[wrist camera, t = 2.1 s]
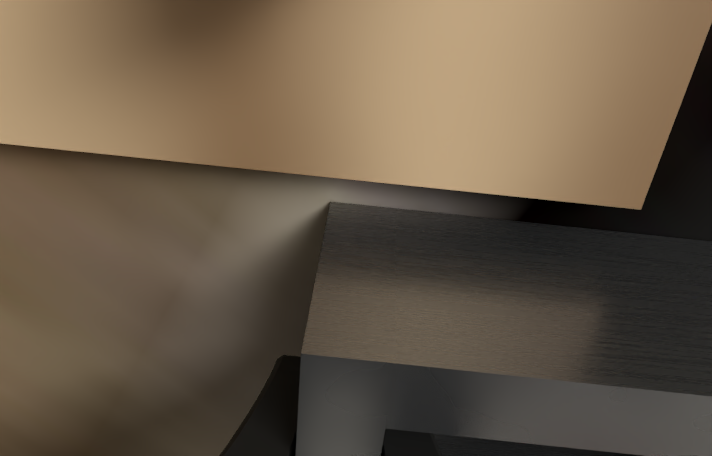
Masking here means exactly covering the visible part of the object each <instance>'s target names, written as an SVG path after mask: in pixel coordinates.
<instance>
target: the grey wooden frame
mask: <svg viewBox="0 0 712 456" xmlns="http://www.w3.org/2000/svg"><path fill="white" fill-rule="evenodd" d="M385 428H386V429H395V430H405V431H414V432H424V433H433V434H434V436H435V439H436V442H437V444H438V446H439V449H440V451H441V453H442V456H712V242H711V241H702V240H692V239H682V238H673V237H663V236H654V235H644V234H634V233H625V232H615V231H605V230H596V229H586V228H576V227H567V226H557V225H548V224H538V223H528V222H519V221H509V220H499V219H490V218H480V217H470V216H461V215H451V214H441V213H432V212H422V211H413V210H403V209H393V208H384V207H374V206H364V205H355V204H345V203H335V202H330V207H329V212H328V217H327V222H326V227H325V233H324V238H323V243H322V248H321V253H320V258H319V264H318V269H317V274H316V279H315V284H314V289H313V294H312V300H311V305H310V310H309V315H308V320H307V325H306V330H305V336H304V341H303V346H302V351H301V363H300V382H299V401H298V420H297V438H296V456H381V452H382V445H383V439H384V433H385Z"/></svg>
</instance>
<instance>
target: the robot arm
mask: <svg viewBox="0 0 712 456" xmlns="http://www.w3.org/2000/svg"><path fill="white" fill-rule="evenodd" d="M300 363H301V357H297V356H287V355H283V356H281V357H280V358H278V359H277V361H276V364H275V366H274V368H273V370H272V372H271V374H270V376H269V378H268V380H267V382H266V384H265V386H264V388H263V390H262V391H261V393H260V395H259V397H258V398H257V400H256V402H255V403H254V405H253V407H252V408H251V410H250V411H249V413H248V415H247V416H246V418H245V419H244V421H243V422H242V424H241V425H240V427H239V428H238V430H237V431H236V433H235V434H234V436H233V437H232V439H231V440H230V442H229V443H228V445H227V446H226V447H225V449H224V450H223V452H222V453H221V454H220V456H296V438H297V420H298V401H299V382H300ZM381 456H442V453H441V451H440V449H439V446H438V444H437V442H436V439H435V436H434V434H433V433H424V432H414V431H405V430H395V429H386V428H385V433H384V439H383V445H382V452H381Z"/></svg>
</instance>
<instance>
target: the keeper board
mask: <svg viewBox="0 0 712 456" xmlns="http://www.w3.org/2000/svg"><path fill="white" fill-rule="evenodd" d="M711 23H712V0H0V143H1V144H11V145H21V146H30V147H40V148H50V149H59V150H69V151H79V152H88V153H98V154H108V155H117V156H127V157H137V158H147V159H156V160H166V161H176V162H185V163H195V164H205V165H214V166H224V167H234V168H243V169H253V170H263V171H272V172H282V173H292V174H301V175H311V176H321V177H330V178H340V179H350V180H359V181H369V182H379V183H388V184H398V185H408V186H417V187H427V188H437V189H447V190H456V191H466V192H476V193H485V194H495V195H505V196H514V197H524V198H534V199H543V200H553V201H563V202H572V203H582V204H592V205H601V206H611V207H621V208H630V209H640V210H641V208H642V205H643V202H644V200H645V197H646V194H647V192H648V189H649V187H650V184H651V181H652V179H653V176H654V173H655V171H656V168H657V165H658V163H659V160H660V158H661V155H662V152H663V150H664V147H665V144H666V142H667V139H668V136H669V134H670V131H671V128H672V126H673V123H674V121H675V118H676V115H677V113H678V110H679V107H680V105H681V102H682V99H683V97H684V94H685V91H686V89H687V86H688V84H689V81H690V78H691V76H692V73H693V70H694V68H695V65H696V62H697V60H698V57H699V55H700V52H701V49H702V47H703V44H704V41H705V39H706V36H707V33H708V31H709V28H710V25H711Z"/></svg>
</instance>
